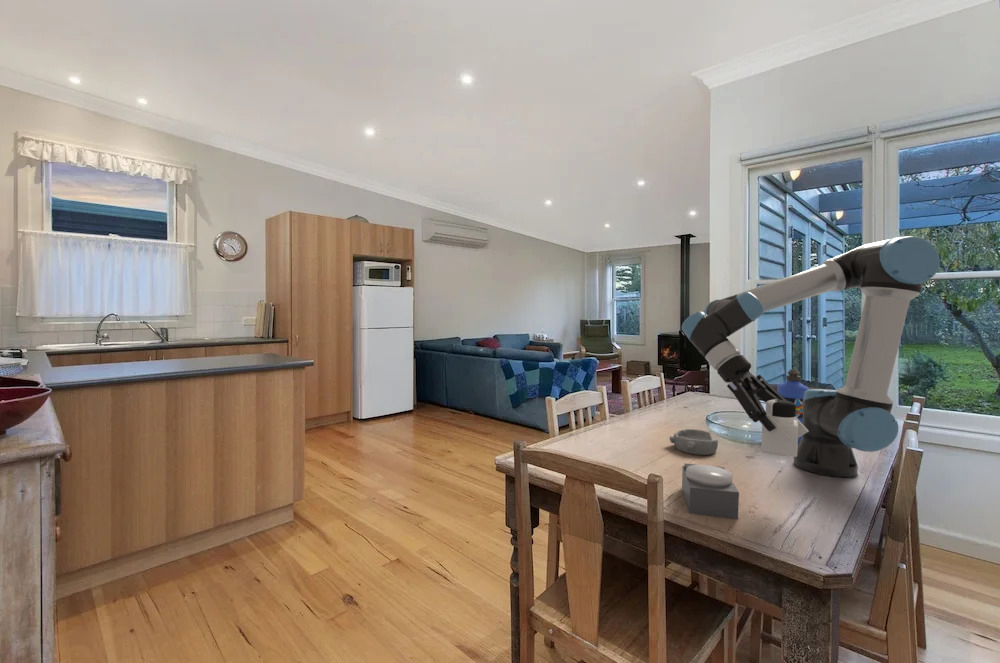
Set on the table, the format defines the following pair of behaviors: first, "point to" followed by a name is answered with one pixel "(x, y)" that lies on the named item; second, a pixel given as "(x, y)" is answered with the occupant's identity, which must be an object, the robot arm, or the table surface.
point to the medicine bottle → (786, 419)
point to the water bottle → (793, 392)
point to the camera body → (709, 491)
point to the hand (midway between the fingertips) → (794, 438)
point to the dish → (694, 442)
